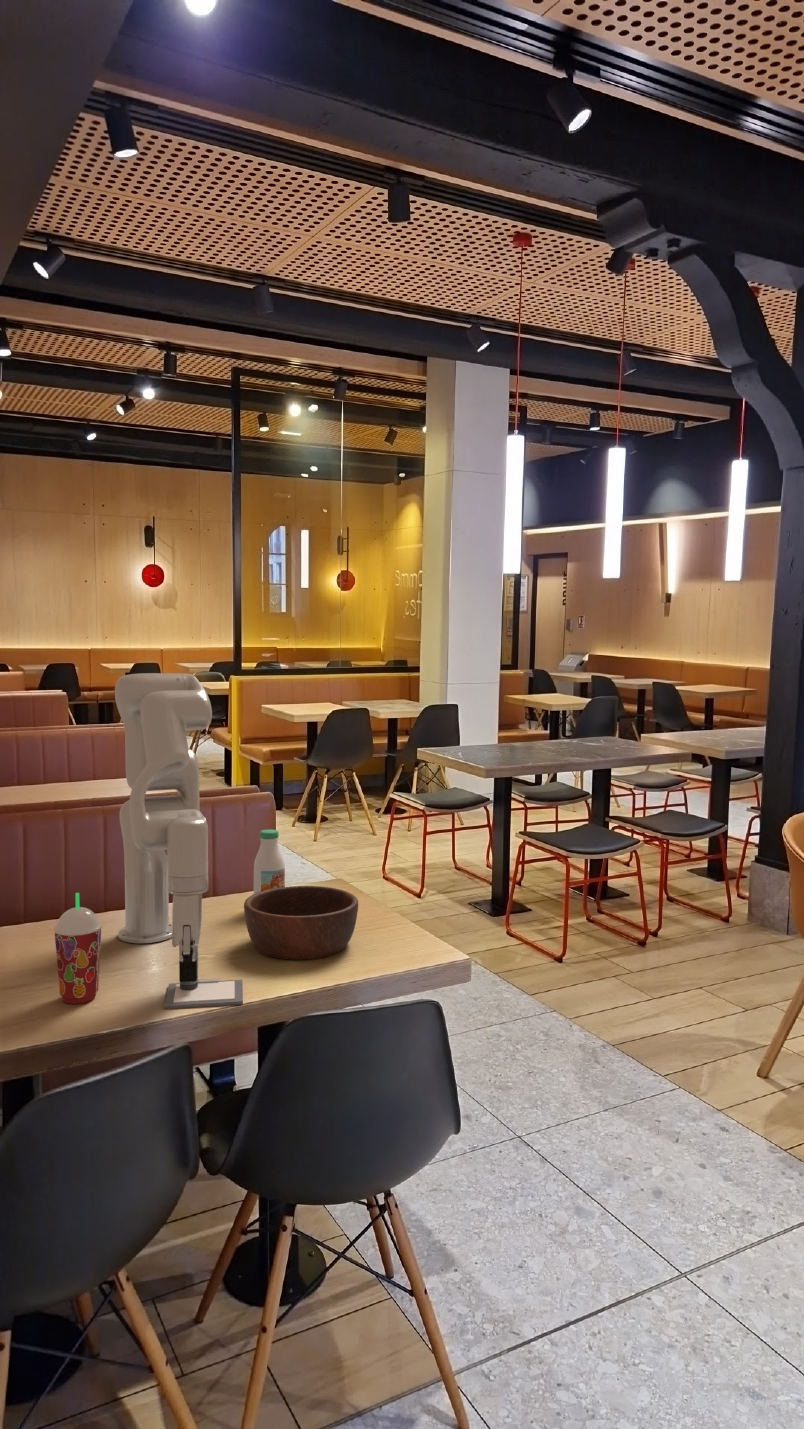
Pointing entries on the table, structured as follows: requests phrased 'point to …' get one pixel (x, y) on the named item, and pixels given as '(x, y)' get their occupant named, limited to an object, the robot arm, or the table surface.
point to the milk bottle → (269, 863)
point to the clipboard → (205, 994)
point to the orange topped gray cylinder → (195, 983)
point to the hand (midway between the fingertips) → (188, 976)
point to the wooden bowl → (301, 921)
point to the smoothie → (78, 954)
